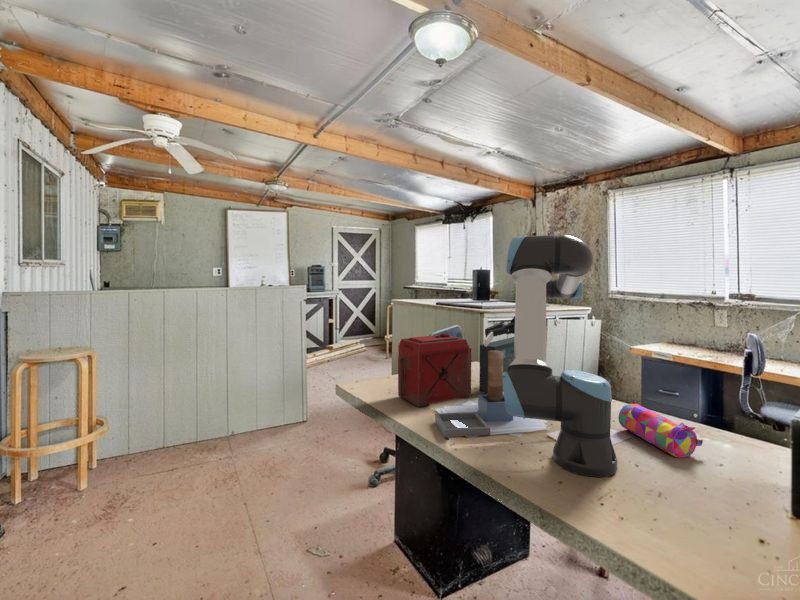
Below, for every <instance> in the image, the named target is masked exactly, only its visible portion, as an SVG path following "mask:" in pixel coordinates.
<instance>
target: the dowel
mask: <svg viewBox="0 0 800 600" xmlns="http://www.w3.org/2000/svg"><path fill="white" fill-rule="evenodd" d="M502 373H503V352H502V351H488V394H487V395H488V402H503V394H504V391H503V377H502Z"/></svg>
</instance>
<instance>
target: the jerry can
mask: <svg viewBox="0 0 800 600" xmlns="http://www.w3.org/2000/svg"><path fill="white" fill-rule="evenodd" d="M397 350H398V352H397V356H398V357H397V361H398V362H397V369H398V370H397V384H398V385H397V390H398V391H397V395H398V397H400V398H403V400H406V401H408V402H409V403H411V404H413V405H414V406H416V407H419V408H421V407H426V406H427V407H428V406H430V404H434V403H435V404H436V403H439V402H444V401H449V400H455V399H466V398H469V397H470V395H471V394H472V347H470V345H469V343H468V340H467V339H466V338H462V337H457V336H452V335H451V334H449V333H439V334H436V335H435V334H434V335H424V336H412V337H408V338H401V339H400V341H399V343H398V349H397Z"/></svg>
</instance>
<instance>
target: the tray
mask: <svg viewBox="0 0 800 600" xmlns="http://www.w3.org/2000/svg"><path fill="white" fill-rule="evenodd" d="M450 420H458V421H459V422H462V423H463V424H465V425H466V427H467V426H468V428H457V427H455V426H454V425H453V424H452V423H451V421H450ZM434 423H435V425H436V427H437V429H438V430H439V432H440V434H441V437H442V438H443V440H444V441H450V438H451V437H468V436H469V437H470V436H471V437H472V436H488V435H491V427H490V426H489V425H488V424H487V422H485V419H484V418H483V417H482V416H481V415H480V414H478V411H477V412H476V411H468V412H464V411H463V412H444V413H434Z"/></svg>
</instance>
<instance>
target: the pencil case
mask: <svg viewBox="0 0 800 600" xmlns="http://www.w3.org/2000/svg"><path fill="white" fill-rule="evenodd" d="M618 422H619V424H620V426H621V427H623V429H625V430H627V431H630V432H631V433H632V434H634V435H636V436H638V437H640V438H642V439H643V440H644V441H646V442H648V443H650V444H652V445H654V446H655V447H657V448H658V449H660V450H662V451H664V452H665V453H667V454H669V455H671V456H672V457H675V458H680V459H681V458H688V457H690V456H691V455H693V453H694V452H695V451H696V448H697V447H700V446H702V445H703V443H704V442H703V441H704V440H703V439H698V438H697V433H696V432H695V431H694V430H695V429H696V427H695V426H688V425H686V424H685V423H683V422H680V423H679V424H678V423H676V422H674V421H672V420H670V419H668V418H667V417H665V416H663V415H660V414H659V413H657V412H655V411H652V410H650V409H649V408H647V407H644V406H642V405H641V404H639V403H627V404H624V405H623V406H622V407H621V409H620V410H619V413H618Z"/></svg>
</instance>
